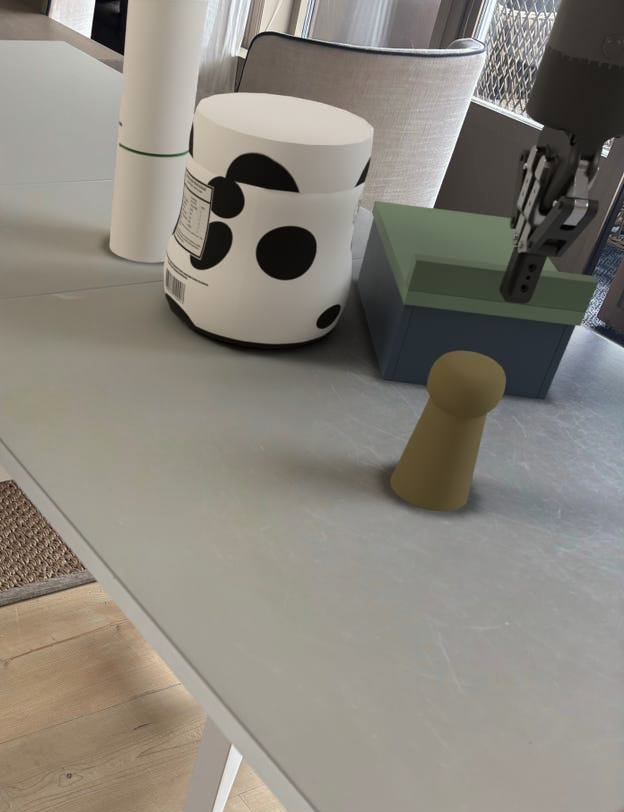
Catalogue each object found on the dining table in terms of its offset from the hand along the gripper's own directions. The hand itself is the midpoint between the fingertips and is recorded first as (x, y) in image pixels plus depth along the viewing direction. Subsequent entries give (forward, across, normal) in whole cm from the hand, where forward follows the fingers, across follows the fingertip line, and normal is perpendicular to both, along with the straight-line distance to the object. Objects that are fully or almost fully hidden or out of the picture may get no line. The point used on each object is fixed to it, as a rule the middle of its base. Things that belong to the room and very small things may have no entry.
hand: (513, 298), depth 77 cm
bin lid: (+3, +15, 0) cm, 15 cm away
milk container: (+11, +14, +19) cm, 26 cm away
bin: (+10, +15, 0) cm, 18 cm away
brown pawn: (+11, -13, +6) cm, 18 cm away
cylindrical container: (+11, +28, +30) cm, 42 cm away
